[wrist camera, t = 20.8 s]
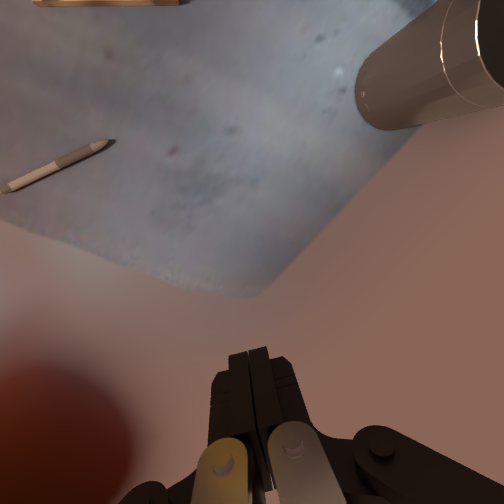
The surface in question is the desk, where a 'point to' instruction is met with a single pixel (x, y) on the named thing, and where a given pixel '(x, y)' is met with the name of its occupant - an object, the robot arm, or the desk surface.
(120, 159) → the desk surface
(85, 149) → the pen
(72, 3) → the backstop pocket
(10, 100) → the desk surface
